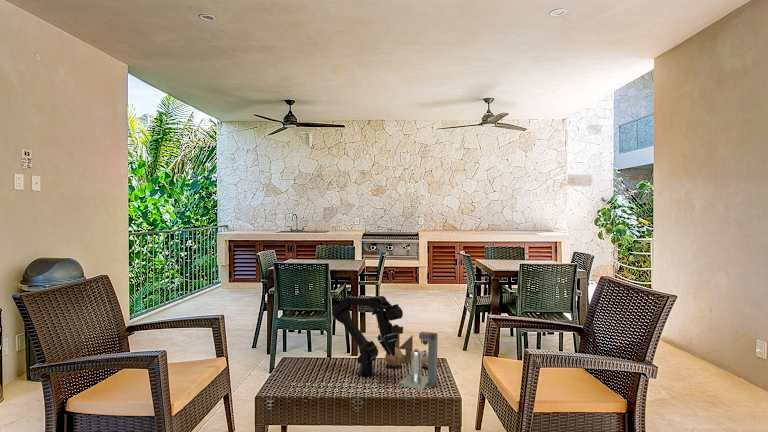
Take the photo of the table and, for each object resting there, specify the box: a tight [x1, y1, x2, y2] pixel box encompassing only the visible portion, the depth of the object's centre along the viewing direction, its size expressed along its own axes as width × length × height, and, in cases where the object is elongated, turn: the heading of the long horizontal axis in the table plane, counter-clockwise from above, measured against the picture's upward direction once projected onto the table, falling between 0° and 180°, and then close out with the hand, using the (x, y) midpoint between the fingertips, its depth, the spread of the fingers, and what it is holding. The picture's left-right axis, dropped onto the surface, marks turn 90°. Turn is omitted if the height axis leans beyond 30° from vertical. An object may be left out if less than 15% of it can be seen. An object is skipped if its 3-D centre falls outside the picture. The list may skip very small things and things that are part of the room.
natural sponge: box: [384, 347, 404, 368], centre depth 234 cm, size 9×9×10 cm
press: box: [398, 331, 438, 390], centre depth 208 cm, size 16×19×23 cm
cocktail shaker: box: [410, 348, 422, 382], centre depth 211 cm, size 5×5×14 cm
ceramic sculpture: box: [421, 350, 443, 369], centre depth 234 cm, size 11×9×15 cm
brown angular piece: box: [395, 333, 414, 364], centre depth 243 cm, size 4×11×18 cm, turn 82°
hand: (391, 355), depth 213 cm, fingers open, 9 cm apart
